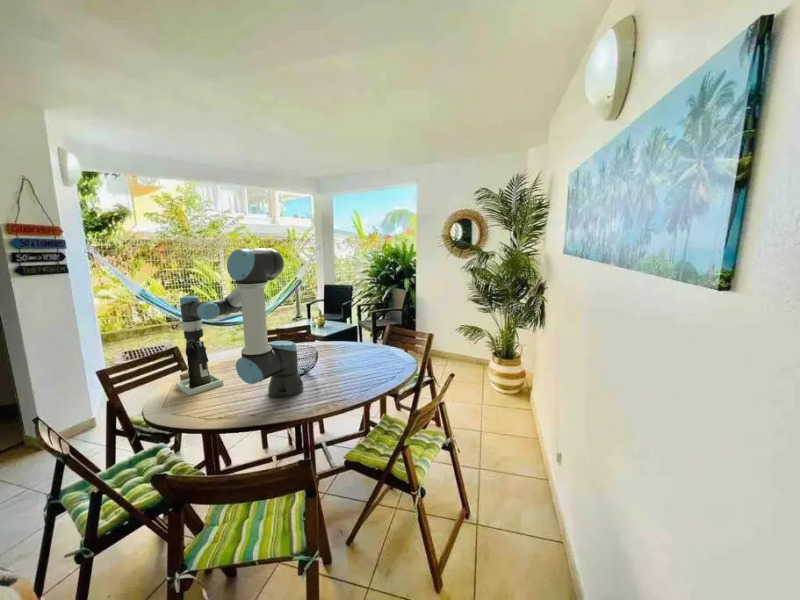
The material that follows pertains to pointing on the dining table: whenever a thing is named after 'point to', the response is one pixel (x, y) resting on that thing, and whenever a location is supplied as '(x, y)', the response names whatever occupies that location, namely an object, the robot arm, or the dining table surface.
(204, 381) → the container
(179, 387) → the tray
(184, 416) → the dining table surface
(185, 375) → the walnut block
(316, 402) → the dining table surface
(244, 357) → the robot arm
